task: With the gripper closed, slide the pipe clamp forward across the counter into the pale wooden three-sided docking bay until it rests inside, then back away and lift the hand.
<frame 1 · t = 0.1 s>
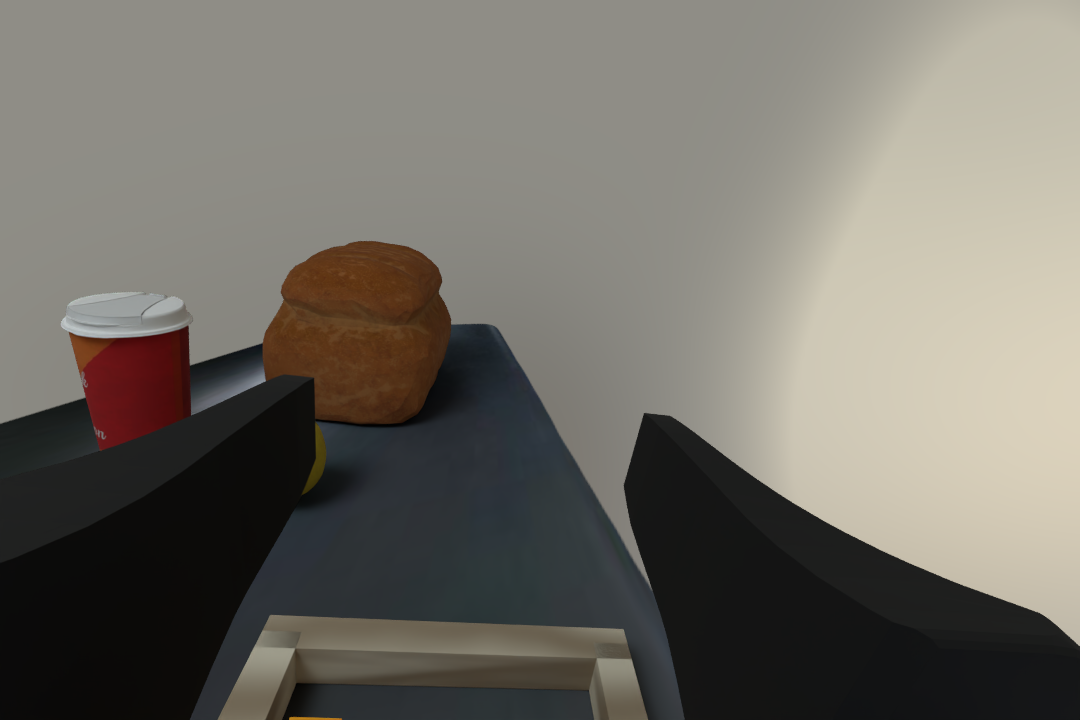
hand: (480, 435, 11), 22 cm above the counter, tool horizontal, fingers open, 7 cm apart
bread: (368, 388, 63), on the counter
lemon: (288, 501, 41), on the counter
paper cup: (150, 469, 43), on the counter
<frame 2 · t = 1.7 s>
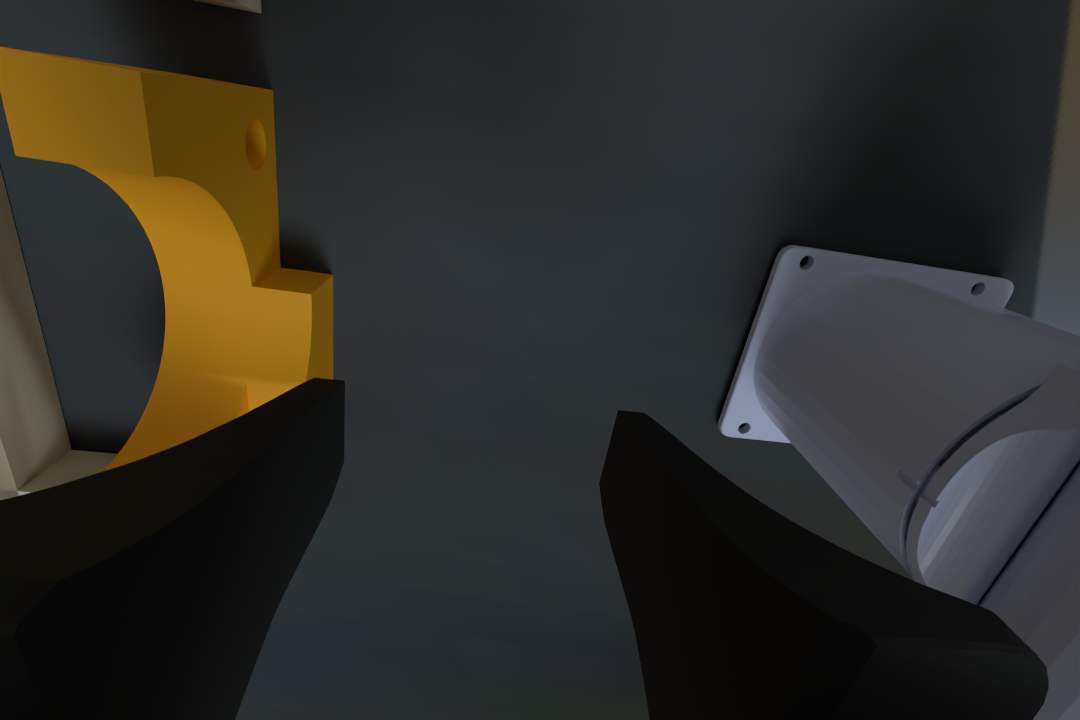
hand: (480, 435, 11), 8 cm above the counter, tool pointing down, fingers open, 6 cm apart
docking bay: (135, 263, 17), on the counter
pipe clamp: (272, 275, 18), on the counter
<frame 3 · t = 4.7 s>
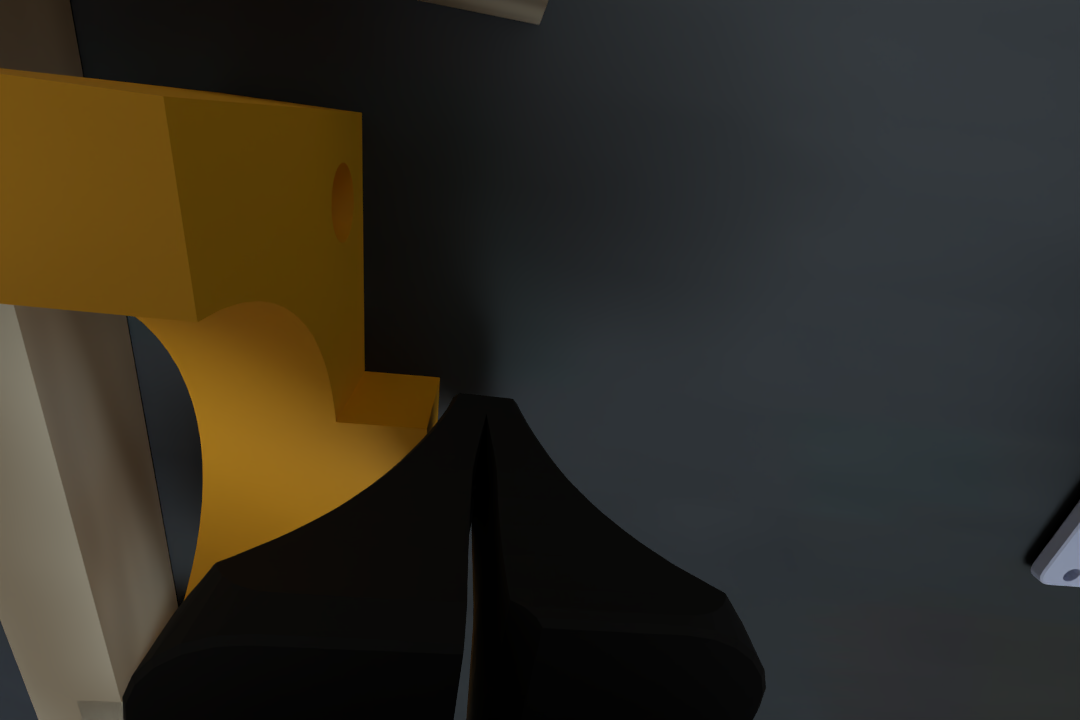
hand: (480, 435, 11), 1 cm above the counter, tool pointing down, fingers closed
docking bay: (296, 383, 12), on the counter
pipe clamp: (350, 380, 13), on the counter, touching gripper
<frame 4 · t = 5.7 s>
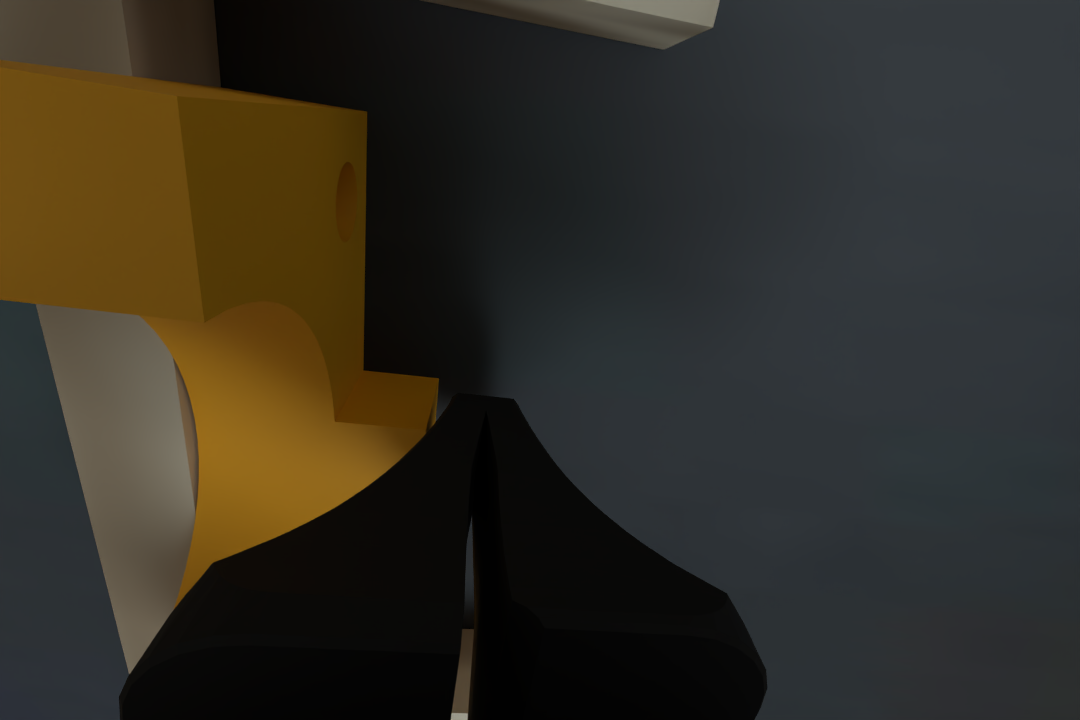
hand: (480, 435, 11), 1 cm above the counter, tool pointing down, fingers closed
docking bay: (399, 394, 12), on the counter
pipe clamp: (349, 379, 12), on the counter
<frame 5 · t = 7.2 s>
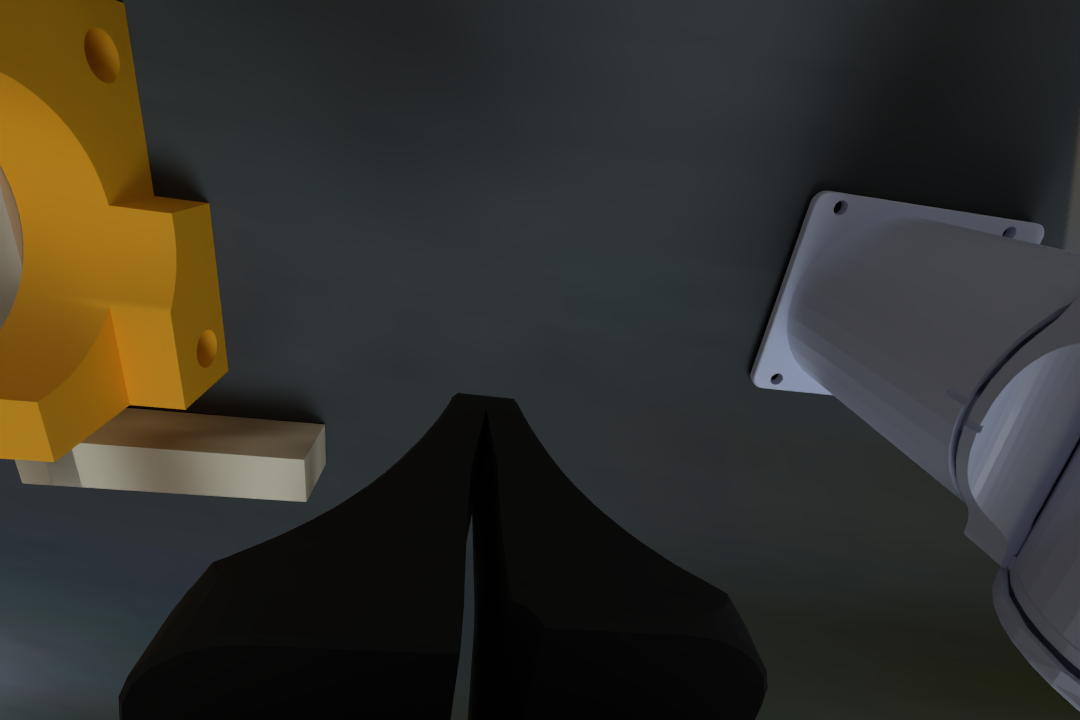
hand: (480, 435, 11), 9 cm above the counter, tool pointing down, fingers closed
docking bay: (183, 216, 18), on the counter
pipe clamp: (150, 206, 18), on the counter
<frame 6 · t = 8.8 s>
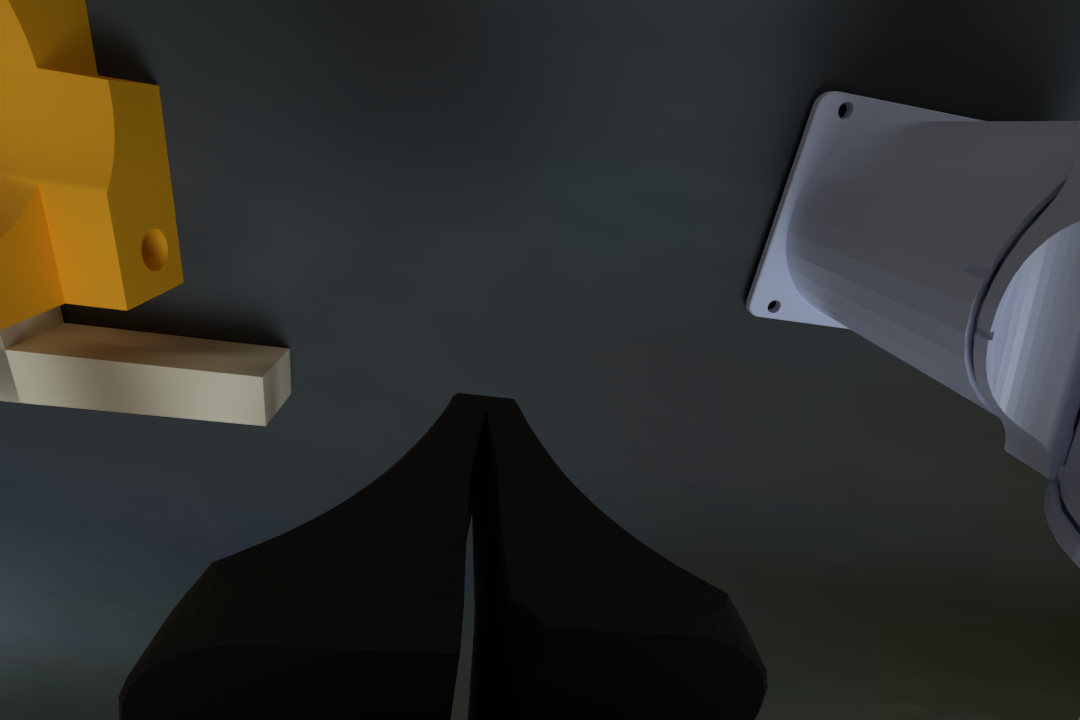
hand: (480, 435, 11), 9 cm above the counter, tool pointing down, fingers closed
docking bay: (131, 102, 16), on the counter
pipe clamp: (93, 89, 16), on the counter
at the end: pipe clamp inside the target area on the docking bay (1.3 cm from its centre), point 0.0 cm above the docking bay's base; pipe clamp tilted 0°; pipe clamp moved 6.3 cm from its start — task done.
